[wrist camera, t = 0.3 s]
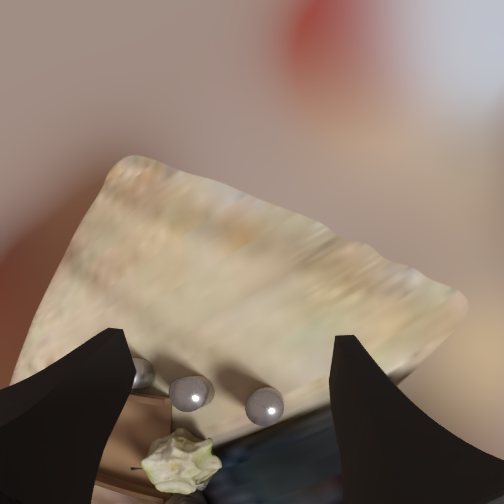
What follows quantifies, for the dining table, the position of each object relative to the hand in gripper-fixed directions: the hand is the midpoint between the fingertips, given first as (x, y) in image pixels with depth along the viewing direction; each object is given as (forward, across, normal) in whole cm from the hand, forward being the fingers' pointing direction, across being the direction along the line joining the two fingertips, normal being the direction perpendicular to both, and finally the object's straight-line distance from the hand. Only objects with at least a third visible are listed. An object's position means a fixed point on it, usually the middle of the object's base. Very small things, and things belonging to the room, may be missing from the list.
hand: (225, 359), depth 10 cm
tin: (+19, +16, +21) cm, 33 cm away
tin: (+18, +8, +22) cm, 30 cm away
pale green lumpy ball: (+12, +10, +29) cm, 33 cm away
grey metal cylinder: (+18, 0, +23) cm, 29 cm away
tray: (+13, +18, +29) cm, 36 cm away
